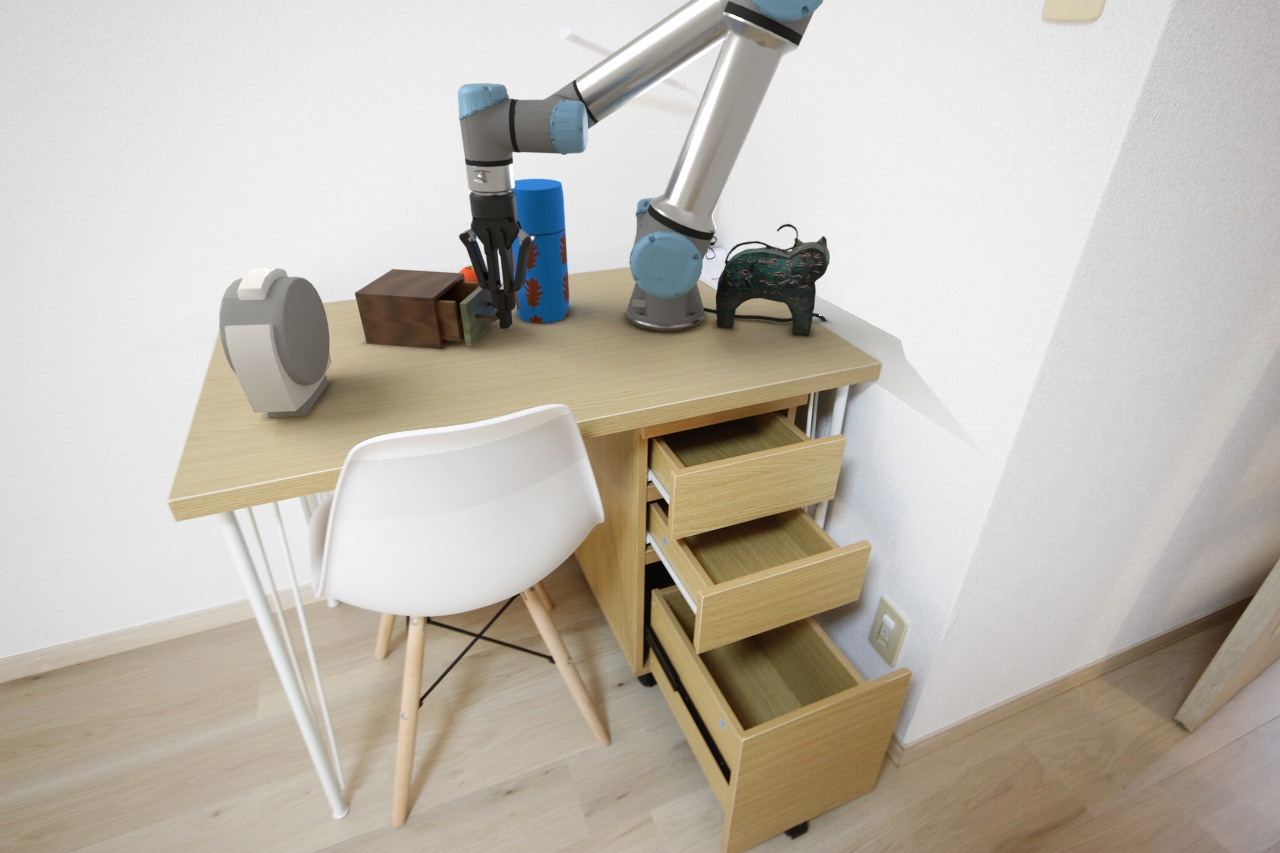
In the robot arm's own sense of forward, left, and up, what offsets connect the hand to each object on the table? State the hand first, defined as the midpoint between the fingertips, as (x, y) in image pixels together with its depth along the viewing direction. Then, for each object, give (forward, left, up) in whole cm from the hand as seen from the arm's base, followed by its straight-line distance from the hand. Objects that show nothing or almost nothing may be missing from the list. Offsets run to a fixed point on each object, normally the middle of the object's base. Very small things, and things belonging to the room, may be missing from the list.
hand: (506, 325), depth 117 cm
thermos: (-5, -14, -3) cm, 15 cm away
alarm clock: (+29, +22, -3) cm, 36 cm away
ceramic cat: (-49, -6, -3) cm, 49 cm away
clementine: (+10, -23, -3) cm, 25 cm away
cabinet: (+17, -5, -3) cm, 18 cm away
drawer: (+9, -3, -2) cm, 10 cm away
